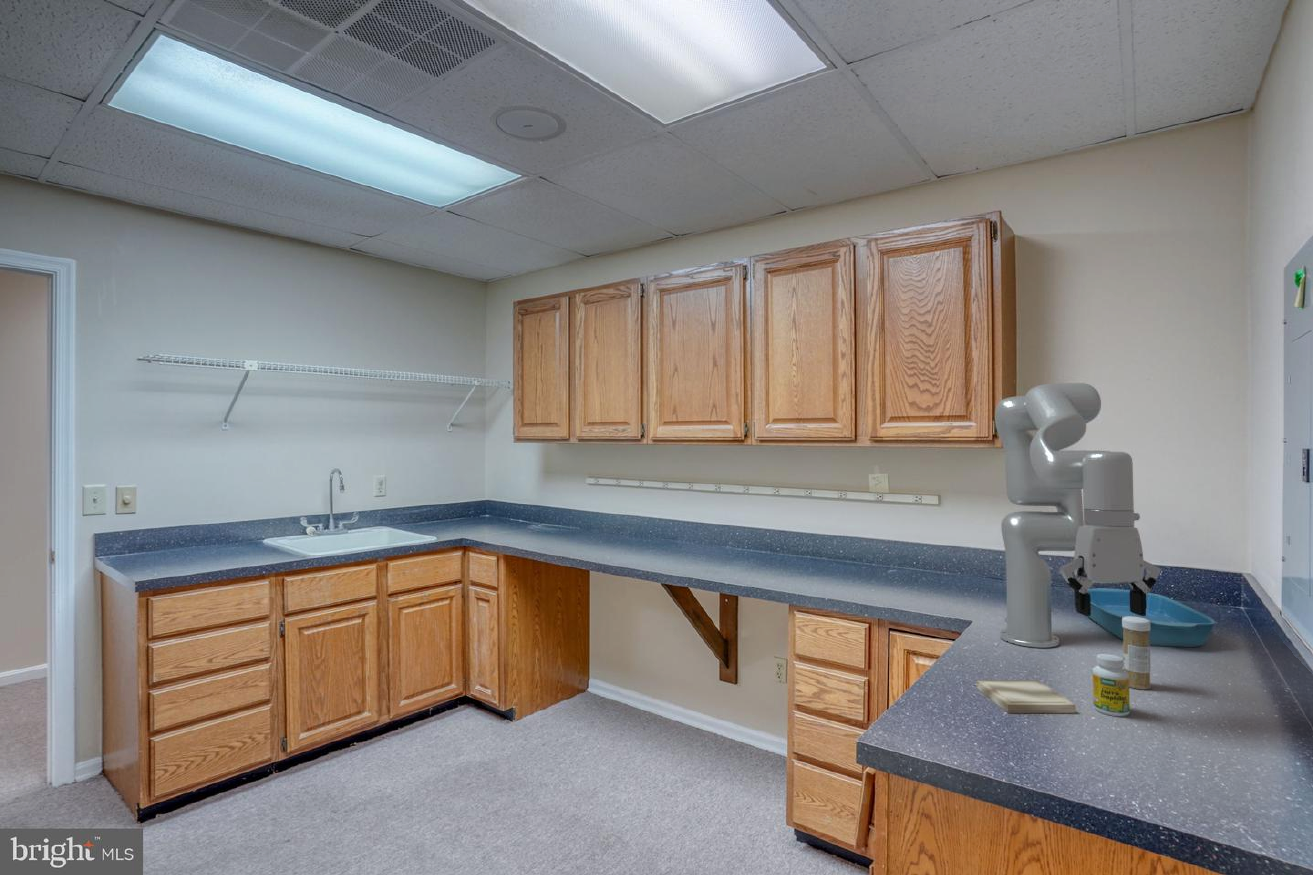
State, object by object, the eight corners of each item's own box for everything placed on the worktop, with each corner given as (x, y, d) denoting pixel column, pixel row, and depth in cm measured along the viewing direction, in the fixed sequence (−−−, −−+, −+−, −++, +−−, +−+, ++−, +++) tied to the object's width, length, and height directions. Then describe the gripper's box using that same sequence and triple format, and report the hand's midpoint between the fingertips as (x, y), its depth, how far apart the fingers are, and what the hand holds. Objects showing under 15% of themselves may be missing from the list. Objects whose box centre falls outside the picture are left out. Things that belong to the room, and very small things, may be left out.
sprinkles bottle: (1124, 680, 133) (1123, 614, 133) (1152, 685, 130) (1151, 618, 130) (1121, 686, 129) (1120, 618, 130) (1149, 692, 126) (1148, 623, 126)
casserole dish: (1235, 656, 147) (1235, 625, 147) (1122, 649, 153) (1122, 619, 153) (1154, 614, 183) (1154, 589, 183) (1065, 610, 188) (1065, 585, 188)
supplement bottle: (1124, 707, 119) (1123, 654, 120) (1134, 719, 114) (1133, 663, 114) (1089, 703, 121) (1088, 651, 122) (1097, 714, 116) (1096, 660, 116)
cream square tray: (976, 687, 129) (976, 679, 129) (1038, 687, 129) (1037, 679, 129) (1007, 712, 117) (1007, 703, 117) (1075, 712, 117) (1075, 703, 117)
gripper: (1142, 517, 122) (1144, 609, 121) (1048, 517, 122) (1050, 609, 122) (1172, 521, 114) (1175, 619, 114) (1072, 521, 115) (1074, 619, 114)
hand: (1110, 614), depth 118 cm, fingers open, 9 cm apart
